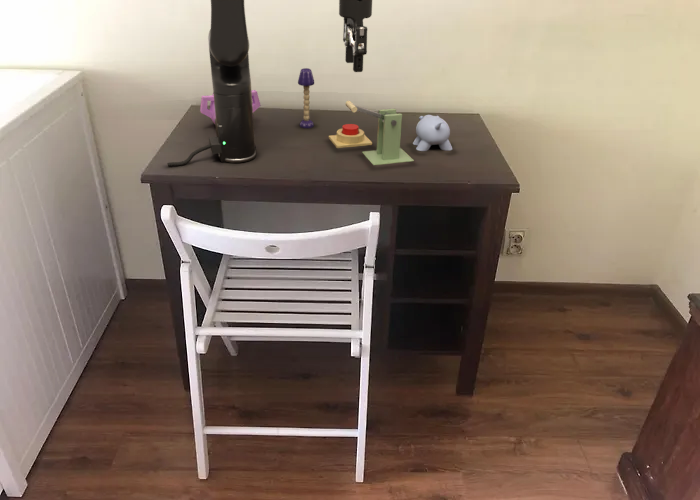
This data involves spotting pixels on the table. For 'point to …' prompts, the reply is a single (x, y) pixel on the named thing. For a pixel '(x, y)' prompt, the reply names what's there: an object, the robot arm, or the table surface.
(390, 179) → the table surface
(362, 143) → the button box
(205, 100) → the pot
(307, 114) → the toy lamp
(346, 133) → the button
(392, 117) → the bracket
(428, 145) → the hippopotamus toy
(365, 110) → the lever
